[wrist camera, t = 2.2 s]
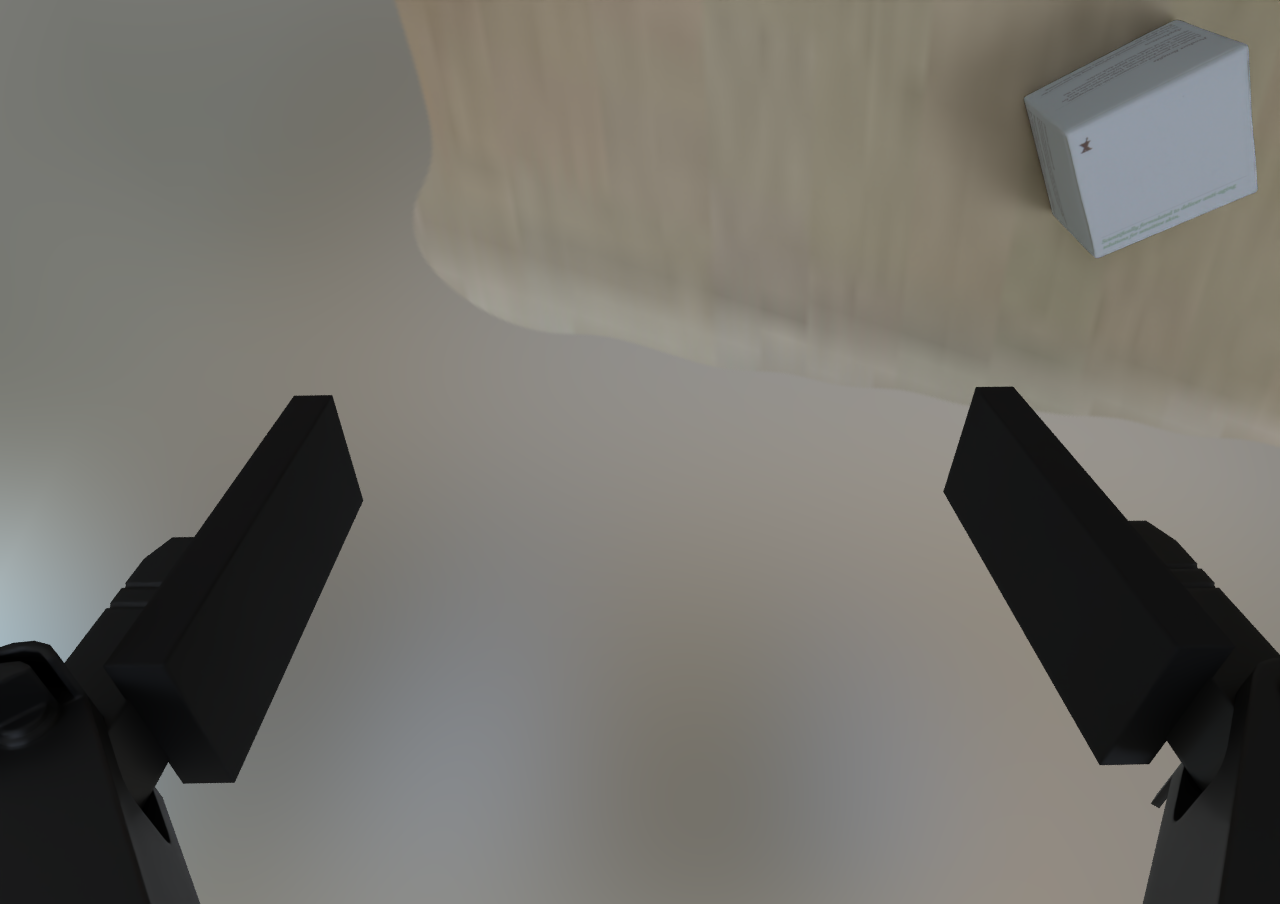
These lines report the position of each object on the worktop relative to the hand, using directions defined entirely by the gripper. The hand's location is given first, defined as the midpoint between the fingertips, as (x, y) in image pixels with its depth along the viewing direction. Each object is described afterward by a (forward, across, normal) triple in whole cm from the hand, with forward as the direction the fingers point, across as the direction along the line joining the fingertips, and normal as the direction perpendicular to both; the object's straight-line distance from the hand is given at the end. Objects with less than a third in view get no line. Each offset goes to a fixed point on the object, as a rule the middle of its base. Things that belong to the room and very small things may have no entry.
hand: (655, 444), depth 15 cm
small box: (+19, +19, +2) cm, 27 cm away
